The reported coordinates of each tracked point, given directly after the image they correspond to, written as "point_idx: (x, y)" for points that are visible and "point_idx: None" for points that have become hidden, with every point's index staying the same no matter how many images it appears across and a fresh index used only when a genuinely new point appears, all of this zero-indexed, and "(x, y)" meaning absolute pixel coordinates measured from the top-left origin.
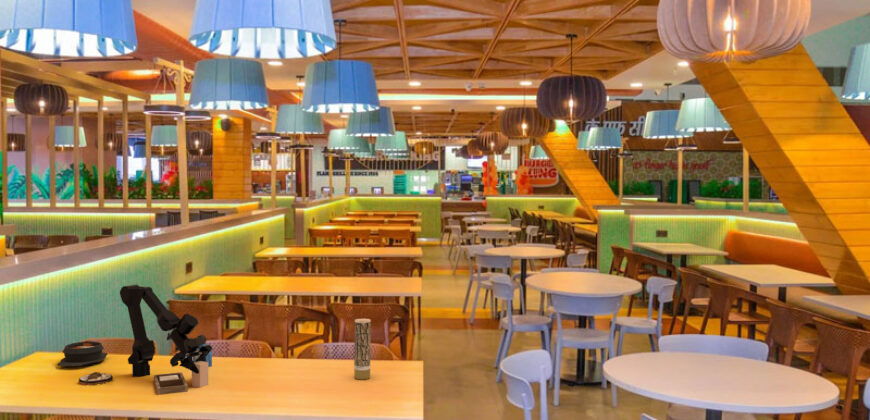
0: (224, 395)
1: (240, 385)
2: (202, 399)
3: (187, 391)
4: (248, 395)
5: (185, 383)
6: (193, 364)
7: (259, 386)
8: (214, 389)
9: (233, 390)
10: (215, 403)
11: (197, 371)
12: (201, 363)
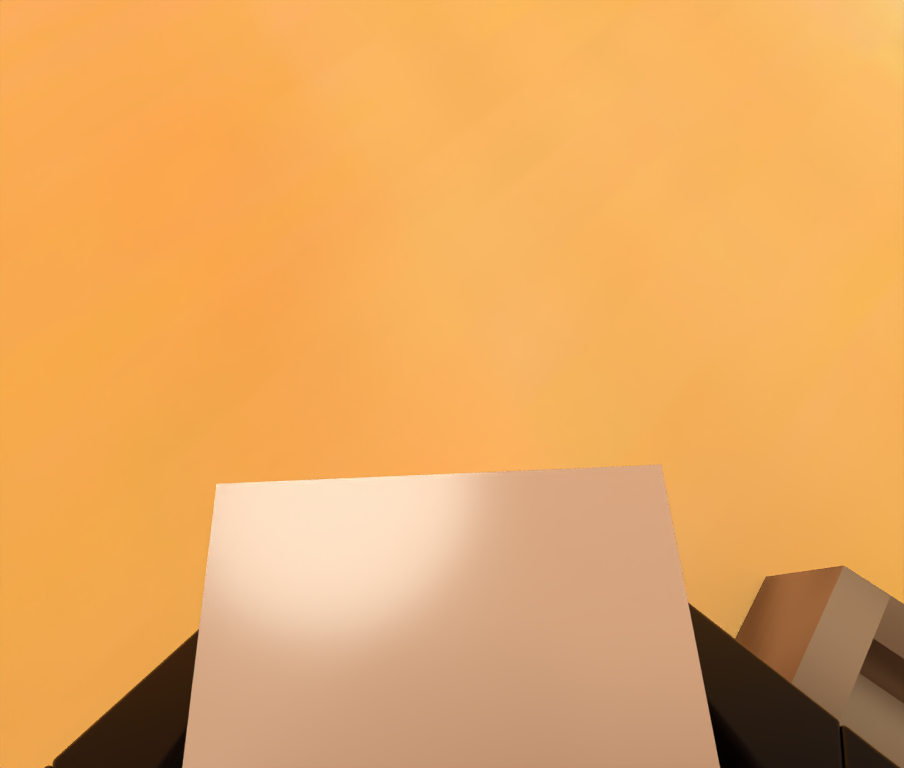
0: (530, 165)
1: (136, 266)
2: (772, 244)
3: (784, 577)
4: (407, 18)
5: None
6: (844, 764)
7: (105, 101)
8: (416, 404)
9: (341, 205)
10: (755, 79)
11: None
12: (491, 588)
